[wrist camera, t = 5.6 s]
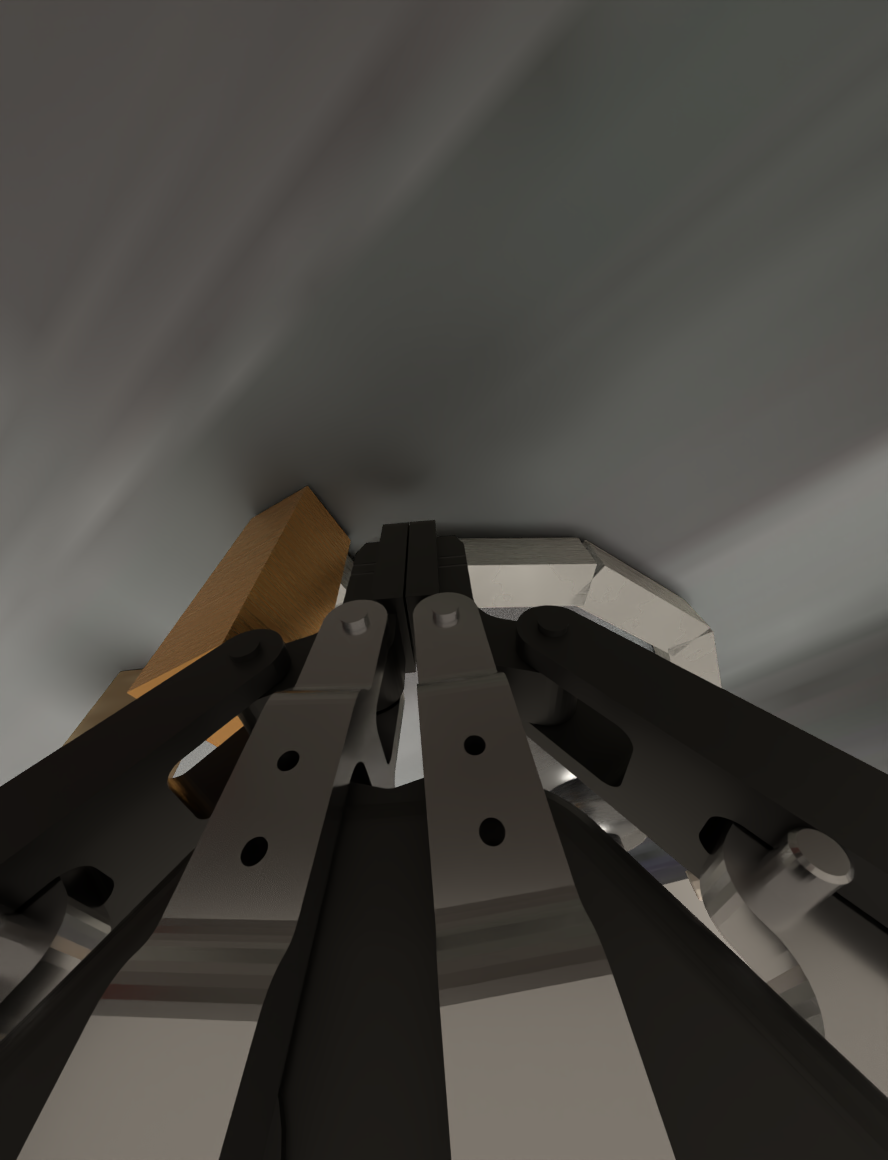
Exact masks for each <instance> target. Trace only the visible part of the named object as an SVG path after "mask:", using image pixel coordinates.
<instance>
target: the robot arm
mask: <svg viewBox="0 0 888 1160" xmlns="http://www.w3.org/2000/svg"><path fill="white" fill-rule="evenodd" d="M353 565H354V566H353V568H352V571H351V576H350V579H349V582H348V586H347V590H346V593H345V597H344V601H343V604H342V605H340V606H338V607H336V608H334V609H333V610H332V611H331V612H329V613H328V614H327V616H326V617H325V619H324V620H323V622H322V625H321V627H320V629H319V632H317V633H315V634H313V635H310V636H307V637H304V638H301V639H298V640H294V641H291V642H288V643H285V644H284V641H283V639H282V637H281V635H280V634H279V633H277V632H276V631H273V630H270V629H255V630H250V631H246V632H244V633H241V634H238V635H236V636H234V637H232V638H231V639H229V640H227V641H226V642H224V643H223V644H221V645H220V646H218V647H216V648H215V649H213V650H212V651H210V652H209V653H207V654H206V655H204V656H202V657H201V658H199V659H198V660H196V661H195V662H193V663H192V664H190V665H188V666H187V667H185V668H184V669H182V670H181V671H179V672H178V673H176V674H175V675H173V676H171V677H170V678H168V679H167V680H165V681H164V682H162V683H161V684H159V685H157V686H156V687H154V688H153V689H151V690H150V691H148V692H147V693H145V694H143V695H142V696H140V697H139V698H137V699H136V700H134V701H133V702H131V703H129V704H128V705H126V706H125V707H123V708H122V709H120V710H119V711H117V712H116V713H114V714H112V715H111V716H109V717H108V718H106V719H105V720H103V721H102V722H100V723H98V724H97V725H95V726H94V727H92V728H91V729H89V730H88V731H86V732H84V733H83V734H81V735H80V736H78V737H77V738H75V739H74V740H72V741H70V742H69V743H67V744H66V745H64V746H63V747H61V748H60V749H58V750H56V751H55V752H53V753H52V754H50V755H49V756H47V757H46V758H44V759H43V760H41V761H39V762H38V763H36V764H35V765H33V766H32V767H30V768H29V769H27V770H25V771H24V772H22V773H21V774H19V775H18V776H16V777H15V778H13V779H11V780H10V781H8V782H7V783H5V784H4V785H2V786H1V787H0V1160H888V774H886V773H884V772H882V771H880V770H878V769H876V768H874V767H872V766H870V765H868V764H867V763H865V762H863V761H861V760H859V759H857V758H855V757H853V756H851V755H849V754H847V753H845V752H843V751H841V750H840V749H838V748H836V747H834V746H832V745H830V744H828V743H826V742H824V741H822V740H820V739H818V738H816V737H815V736H813V735H811V734H809V733H807V732H805V731H803V730H801V729H799V728H797V727H795V726H793V725H791V724H789V723H788V722H786V721H784V720H782V719H780V718H778V717H776V716H774V715H772V714H770V713H768V712H766V711H764V710H763V709H761V708H759V707H757V706H755V705H753V704H751V703H749V702H747V701H745V700H743V699H741V698H739V697H737V696H736V695H734V694H732V693H730V692H728V691H726V690H724V689H722V688H720V687H718V686H716V685H714V684H712V683H711V682H709V681H707V680H705V679H703V678H701V677H699V676H697V675H695V674H693V673H691V672H689V671H687V670H685V669H684V668H682V667H680V666H678V665H676V664H674V663H672V662H670V661H668V660H666V659H664V658H662V657H660V656H659V655H657V654H655V653H653V652H651V651H649V650H647V649H645V648H643V647H641V646H639V645H637V644H635V643H633V642H632V641H630V640H628V639H626V638H624V637H622V636H620V635H618V634H616V633H614V632H612V631H610V630H608V629H607V628H605V627H603V626H601V625H599V624H597V623H595V622H593V621H591V620H589V619H587V618H585V617H583V616H581V615H580V614H578V613H576V612H574V611H572V610H569V609H567V608H564V607H559V606H553V605H543V606H537V607H533V608H531V609H528V610H527V611H525V612H524V613H523V614H521V616H520V617H519V618H518V621H513V620H506V619H500V618H496V617H493V616H490V615H488V614H486V613H485V612H483V611H482V610H480V609H479V608H478V607H477V605H476V603H475V602H474V599H473V594H472V588H471V582H470V576H469V571H468V565H467V559H466V553H465V547H464V543H463V542H461V541H460V540H459V539H458V538H457V537H456V536H455V535H452V536H441V537H437V533H436V523H435V520H429V521H418V522H410V525H409V522H408V523H396V524H385V525H383V527H382V532H381V538H380V542H373V543H366V544H365V545H364V546H363V547H362V548H361V549H360V550H359V551H358V552H357V553H356V557H355V560H354V564H353ZM416 664H417V670H418V682H419V684H417V695H418V708H419V720H420V733H421V745H422V758H423V771H424V778H422V779H419V780H416V781H413V782H410V783H408V784H405V785H402V786H399V787H396V788H395V768H396V760H397V753H398V746H399V739H400V731H401V724H402V717H403V710H404V702H405V697H404V692H403V690H404V683H405V673H411V672H416ZM236 716H238V717H239V719H240V720H241V722H242V724H243V725H244V726H243V727H241V728H240V729H239V730H238V731H237V732H235V733H234V734H233V735H232V736H230V737H229V738H228V739H227V740H226V741H224V742H223V743H222V744H221V745H219V746H218V747H217V748H216V749H215V750H213V751H212V752H211V753H210V754H208V755H207V756H206V757H205V758H204V759H202V760H201V761H200V762H199V763H197V764H196V765H195V766H194V767H192V768H191V769H190V770H189V771H187V772H186V773H185V774H183V775H181V776H179V777H176V778H168V776H169V774H170V772H171V770H172V769H173V768H174V766H175V765H176V764H177V763H178V762H179V761H180V760H181V759H183V758H184V757H185V756H186V755H188V754H189V753H190V752H191V751H193V750H194V749H195V748H197V747H198V746H199V745H200V744H202V743H203V742H204V741H205V740H207V739H208V738H209V737H210V736H212V735H213V734H214V733H216V732H217V731H218V730H219V729H221V728H222V727H223V726H224V725H226V724H227V723H228V722H229V721H231V720H232V719H233V718H235V717H236ZM526 736H528V737H529V738H530V739H531V740H532V741H534V742H535V743H536V744H537V745H538V746H540V747H541V748H542V749H543V750H544V751H546V752H547V753H548V754H549V755H550V756H552V757H553V758H554V759H555V760H556V761H558V762H559V763H560V764H561V765H562V766H564V767H565V768H566V769H567V770H568V771H570V772H571V773H572V774H573V775H574V776H576V777H577V778H578V779H579V780H580V781H582V782H583V783H584V784H585V785H586V786H588V787H589V788H590V789H591V790H592V791H594V792H595V793H596V794H597V795H598V796H600V797H601V798H602V799H603V800H604V801H606V802H607V803H608V804H609V805H610V806H611V807H613V808H614V809H615V810H616V811H617V812H619V813H620V814H621V815H622V816H623V817H625V818H626V819H627V820H628V821H629V822H631V823H632V824H633V825H634V826H635V827H637V828H638V829H639V830H640V831H641V832H643V833H644V834H645V835H646V836H647V837H649V838H650V839H651V840H652V841H653V842H655V843H656V844H657V845H658V846H659V847H661V848H662V849H663V850H664V851H665V852H667V853H668V854H669V855H670V856H671V857H673V858H674V859H675V860H676V861H677V862H679V863H680V864H681V865H682V866H683V867H685V868H686V869H687V870H688V871H689V872H691V873H692V874H693V875H694V876H695V877H697V878H698V879H699V880H700V891H701V896H702V899H703V902H704V905H705V908H706V910H707V912H708V914H709V916H710V918H711V920H712V922H713V923H714V925H715V926H716V928H717V929H718V931H719V932H720V933H721V935H722V936H723V937H724V939H725V940H726V941H727V942H728V943H729V944H730V945H731V946H732V947H733V948H734V949H735V950H736V951H737V953H738V954H739V955H740V956H741V957H742V958H743V959H744V960H745V962H746V963H747V964H748V965H749V966H748V965H747V964H745V963H744V962H743V961H742V960H741V959H740V958H739V957H738V956H737V955H736V954H735V953H734V952H733V951H732V950H731V949H729V948H728V947H727V946H726V945H725V944H724V943H723V942H722V941H721V940H720V939H719V938H718V937H717V936H716V935H715V934H714V933H712V932H711V931H710V930H709V929H708V928H707V927H706V926H705V925H704V924H703V923H702V922H701V921H700V920H698V918H697V917H695V915H693V914H692V913H691V912H690V911H689V910H688V909H687V908H686V907H685V906H684V905H683V904H682V903H681V902H680V901H679V900H678V899H676V898H675V897H674V896H673V895H672V894H671V893H670V892H669V891H668V890H667V889H666V888H665V887H664V886H663V885H662V884H661V883H659V882H658V881H657V880H656V879H655V878H654V877H653V876H652V875H651V874H650V873H649V872H648V871H647V870H646V869H645V868H644V867H642V866H641V865H640V864H639V863H638V862H637V861H636V860H635V859H634V858H633V857H632V856H631V855H630V854H629V853H628V852H627V851H626V850H624V849H623V848H622V847H621V846H620V845H619V844H618V843H617V842H616V841H615V840H614V839H613V838H612V837H611V836H610V835H609V834H607V833H606V832H605V831H604V830H603V829H602V828H601V827H600V826H599V825H598V824H597V823H596V822H595V821H594V820H592V819H591V818H590V817H589V816H588V815H587V814H585V813H584V812H583V811H581V810H580V809H579V808H577V807H576V806H575V805H573V804H572V803H570V802H568V801H567V800H565V799H563V798H562V797H560V796H558V795H556V794H554V793H552V792H550V791H548V790H545V789H543V786H542V783H541V780H540V777H539V774H538V771H537V768H536V765H535V762H534V759H533V756H532V753H531V750H530V746H529V743H528V740H527V737H526Z"/></svg>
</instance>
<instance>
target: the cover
mask: <svg viewBox="0 0 888 1160" xmlns="http://www.w3.org/2000/svg"><path fill="white" fill-rule="evenodd" d="M526 737H527V740H528V743H529V746H530V750H531V753H532V756H533V759H534V762H535V765H536V768H537V771H538V774H539V777H540V780H541V783H542V786H543V789H545V790H548V791H550V792H552V793H554V794H556V795H558V796H560V797H562V798H563V799H565V800H567V801H568V802H570V803H572V804H573V805H575V806H576V807H577V808H579V809H580V810H581V811H583V812H584V813H585V814H587V815H588V816H589V817H590V818H591V819H592V820H594V821H595V822H596V823H597V824H598V825H599V826H600V827H601V828H602V829H603V830H604V831H605V832H606V833H607V834H609V835H610V836H611V837H612V838H613V839H614V840H615V841H616V842H617V843H618V844H619V845H620V846H621V847H622V848H623V849H624V850H626V851H629V850H631V849H633V848H635V847H637V846H638V845H640V844H641V843H642V842H643V841H644V840H645V839H646V838H647V836H646V835H645V834H644V833H643V832H641V831H640V830H639V829H638V828H637V827H635V826H634V825H633V824H632V823H631V822H629V821H628V820H627V819H626V818H625V817H623V816H622V815H621V814H620V813H619V812H617V811H616V810H615V809H614V808H613V807H611V806H610V805H609V804H608V803H607V802H606V801H604V800H603V799H602V798H601V797H600V796H598V795H597V794H596V793H595V792H594V791H592V790H591V789H590V788H589V787H588V786H586V785H585V784H584V783H583V782H582V781H580V780H579V779H578V778H577V777H576V776H574V775H573V774H572V773H571V772H570V771H568V770H567V769H566V768H565V767H564V766H562V765H561V764H560V763H559V762H558V761H556V760H555V759H554V758H553V757H552V756H550V755H549V754H548V753H547V752H546V751H544V750H543V749H542V748H541V747H540V746H538V745H537V744H536V743H535V742H534V741H532V740H531V739H530V738H529V737H528V736H526Z"/></svg>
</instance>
